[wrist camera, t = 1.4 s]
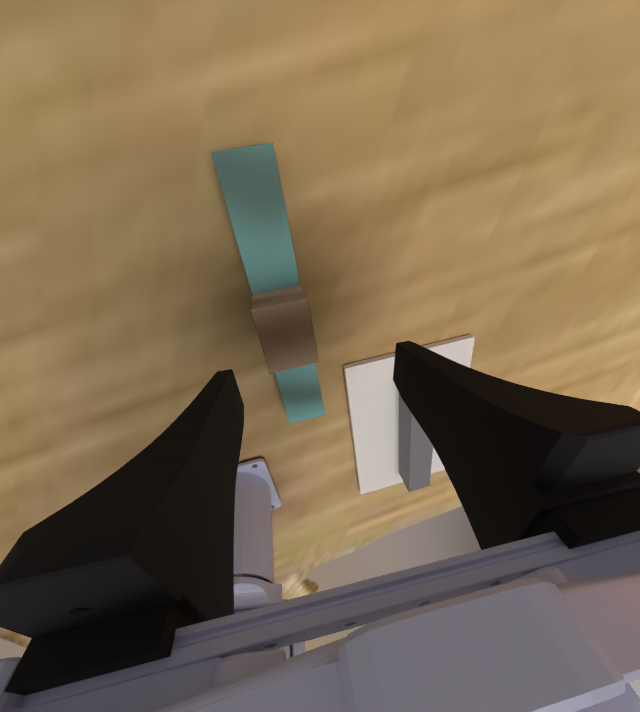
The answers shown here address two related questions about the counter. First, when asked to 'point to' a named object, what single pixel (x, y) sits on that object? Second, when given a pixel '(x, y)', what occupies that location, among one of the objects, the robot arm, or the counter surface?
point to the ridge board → (392, 422)
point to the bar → (272, 274)
